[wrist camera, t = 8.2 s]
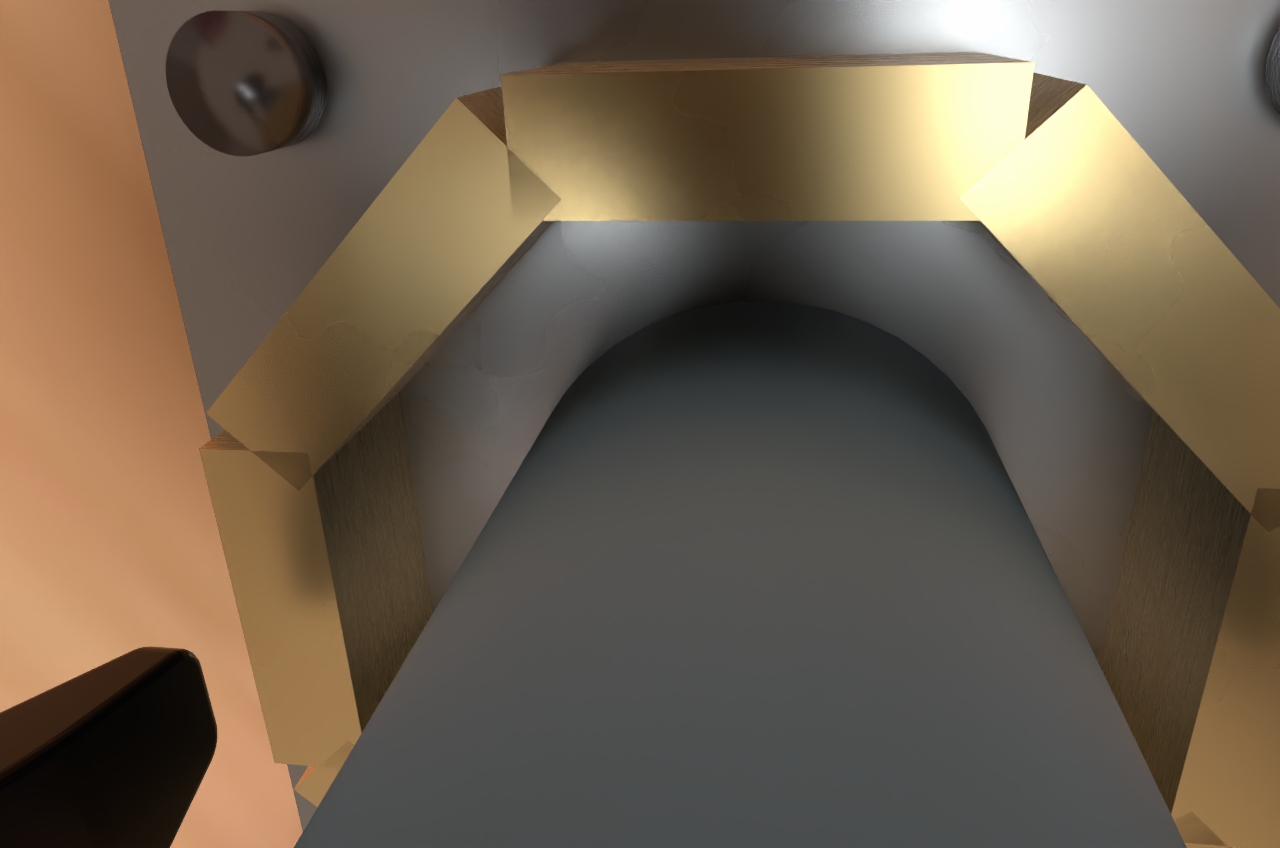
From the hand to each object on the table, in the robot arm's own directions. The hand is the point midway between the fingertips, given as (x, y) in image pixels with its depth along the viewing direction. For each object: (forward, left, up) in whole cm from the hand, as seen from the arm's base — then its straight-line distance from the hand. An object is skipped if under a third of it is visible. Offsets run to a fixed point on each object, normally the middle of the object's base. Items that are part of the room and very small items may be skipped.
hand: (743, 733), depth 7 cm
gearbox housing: (0, 0, -7) cm, 7 cm away
